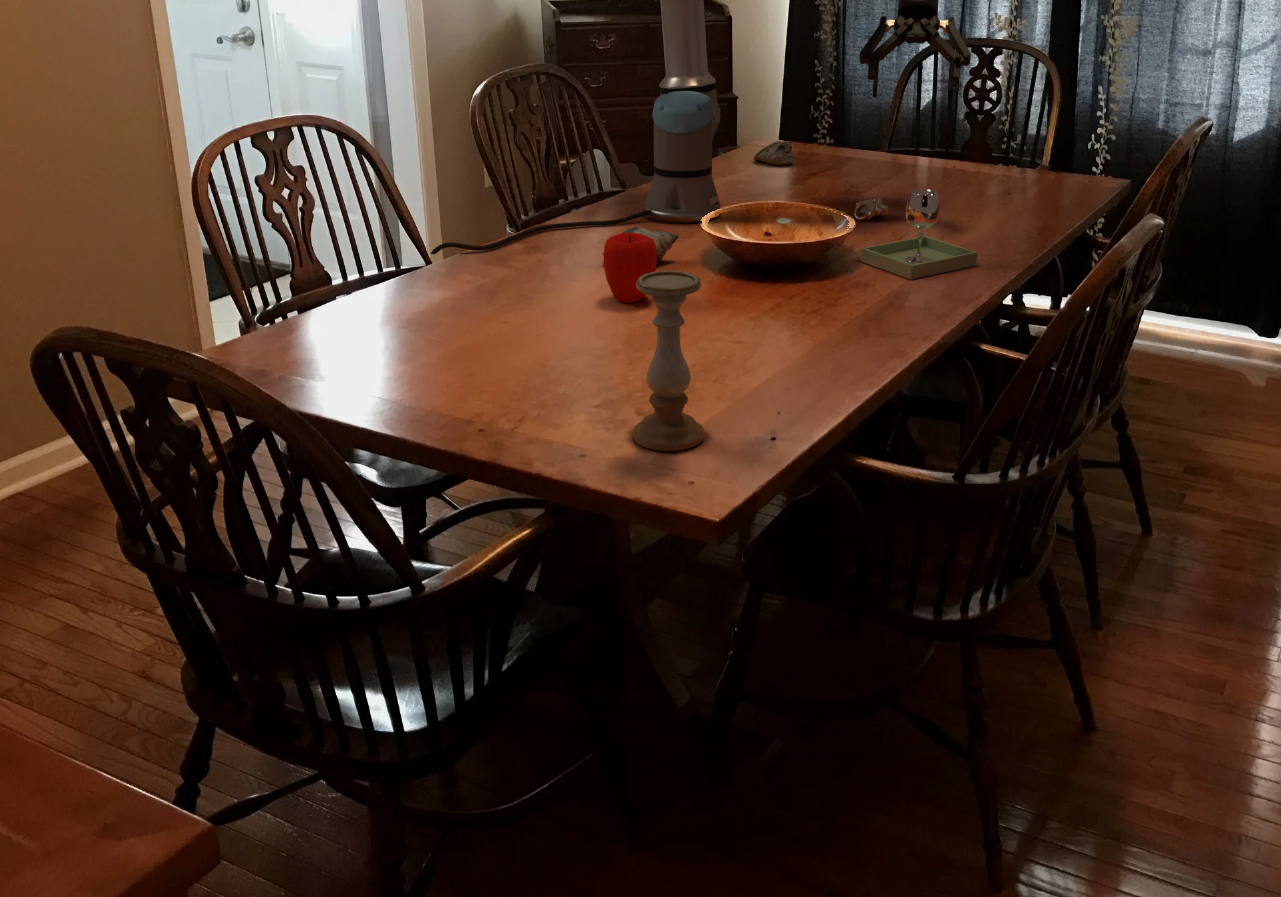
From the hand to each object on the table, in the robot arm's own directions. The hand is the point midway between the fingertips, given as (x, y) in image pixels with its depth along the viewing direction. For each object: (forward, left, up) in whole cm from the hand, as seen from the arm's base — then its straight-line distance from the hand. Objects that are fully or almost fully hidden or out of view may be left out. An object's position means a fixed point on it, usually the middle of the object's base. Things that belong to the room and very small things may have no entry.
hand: (912, 93), depth 233 cm
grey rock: (+16, +63, -26) cm, 70 cm away
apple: (-65, -8, -26) cm, 71 cm away
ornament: (+2, +11, -26) cm, 28 cm away
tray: (-12, -18, -26) cm, 34 cm away
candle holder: (-89, -58, -26) cm, 110 cm away
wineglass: (-12, -18, -25) cm, 34 cm away
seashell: (-53, +9, -26) cm, 60 cm away
